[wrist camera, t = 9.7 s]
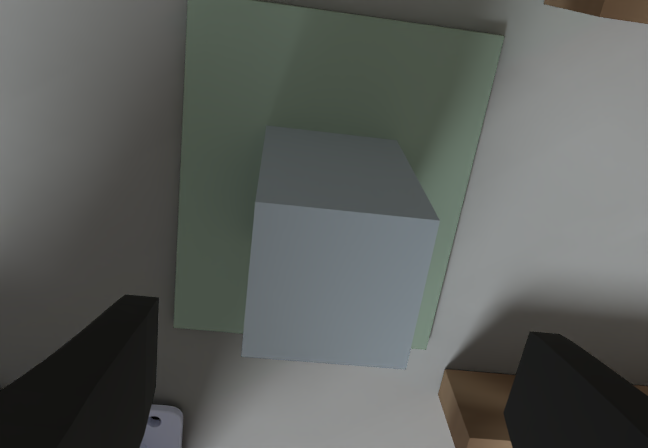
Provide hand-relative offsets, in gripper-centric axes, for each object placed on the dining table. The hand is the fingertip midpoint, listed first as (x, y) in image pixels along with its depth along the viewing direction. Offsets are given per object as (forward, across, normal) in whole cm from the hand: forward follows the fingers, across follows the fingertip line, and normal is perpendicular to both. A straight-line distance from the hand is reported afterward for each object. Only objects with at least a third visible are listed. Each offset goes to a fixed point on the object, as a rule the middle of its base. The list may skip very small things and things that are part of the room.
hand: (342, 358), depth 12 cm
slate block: (+8, 0, 0) cm, 8 cm away
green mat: (+9, 0, 0) cm, 9 cm away
